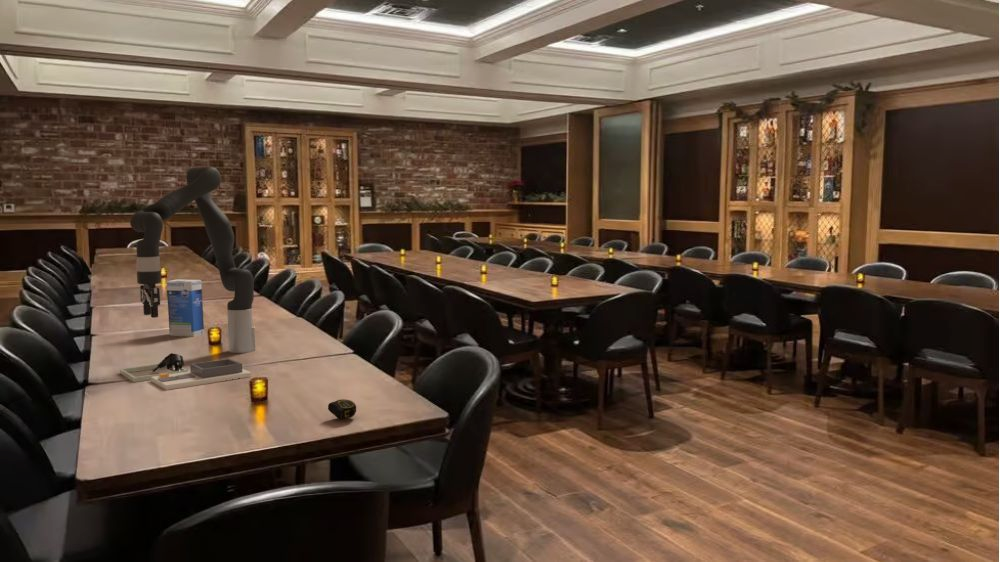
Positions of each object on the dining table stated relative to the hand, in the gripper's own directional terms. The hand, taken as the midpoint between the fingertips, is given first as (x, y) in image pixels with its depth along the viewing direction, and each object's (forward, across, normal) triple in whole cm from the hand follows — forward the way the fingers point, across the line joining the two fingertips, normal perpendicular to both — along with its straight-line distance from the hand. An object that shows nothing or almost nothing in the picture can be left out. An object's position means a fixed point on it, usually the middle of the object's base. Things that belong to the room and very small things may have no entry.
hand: (150, 316), depth 256 cm
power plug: (+22, +1, 0) cm, 22 cm away
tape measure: (+20, -90, -21) cm, 95 cm away
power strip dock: (+20, -19, -10) cm, 30 cm away
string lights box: (+20, +67, -33) cm, 77 cm away
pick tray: (+20, 0, 0) cm, 21 cm away
